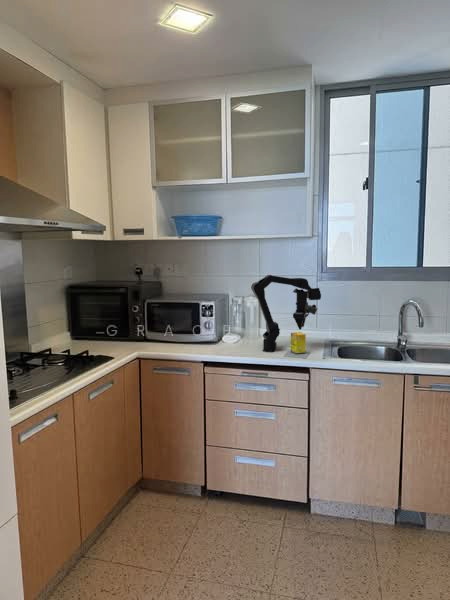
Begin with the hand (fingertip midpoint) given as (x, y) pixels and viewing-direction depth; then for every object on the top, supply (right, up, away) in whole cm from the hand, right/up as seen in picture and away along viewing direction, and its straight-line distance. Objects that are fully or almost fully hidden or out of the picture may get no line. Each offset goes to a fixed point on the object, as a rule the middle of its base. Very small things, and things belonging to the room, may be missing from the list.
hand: (301, 328), depth 230 cm
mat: (-5, -14, -10) cm, 18 cm away
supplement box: (-3, -13, -8) cm, 16 cm away
